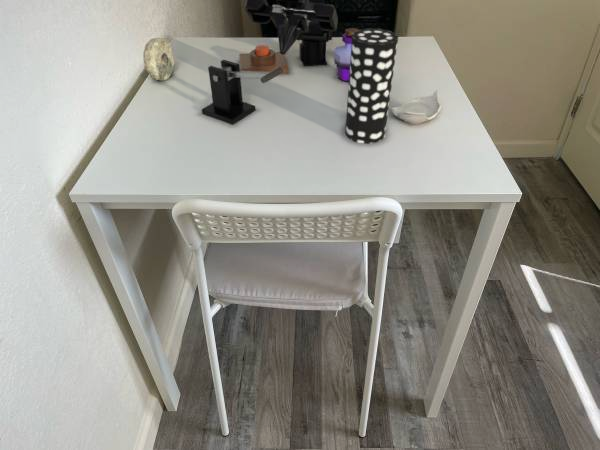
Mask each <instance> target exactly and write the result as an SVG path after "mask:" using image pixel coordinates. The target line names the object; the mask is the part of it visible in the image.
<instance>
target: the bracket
mask: <svg viewBox="0 0 600 450" xmlns="http://www.w3.org/2000/svg"><path fill="white" fill-rule="evenodd" d="M220 67H231V68H232V71H241V66H240V63H237V62H234V61H230V60H227V59H222V60H220ZM220 67H216V66H213V65H210V66H208V67H207V71H208V76H209V84H210V90H211V98H212V103H210V104H209V105H206V106H205V107H203V108H201V114H202V115H204V116H207V117H210V118H213V119H215V120H218V121H220V122H223V123H226V124H230V125H235V124H236V123H238V122H240V121H241V120H243V119H244V118H247V117H248V116H249V115H251V114H252V113H254V112H256V105H254V104H251V103H248V102H245V101H243V90H242V89H243V88H242V78H241V77H234V78H232V79H231V80H229V81H228V77H227V70H224V69H220Z"/></svg>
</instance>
